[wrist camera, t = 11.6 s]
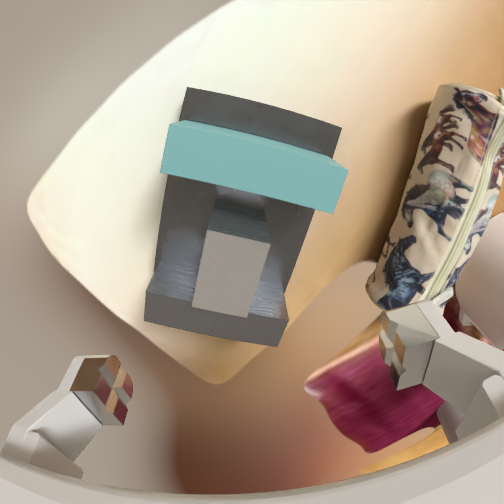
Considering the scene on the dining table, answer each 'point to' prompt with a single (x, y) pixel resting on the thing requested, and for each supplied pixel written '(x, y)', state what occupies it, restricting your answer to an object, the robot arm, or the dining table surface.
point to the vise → (204, 195)
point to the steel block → (231, 259)
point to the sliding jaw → (252, 164)
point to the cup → (449, 420)
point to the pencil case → (443, 199)
